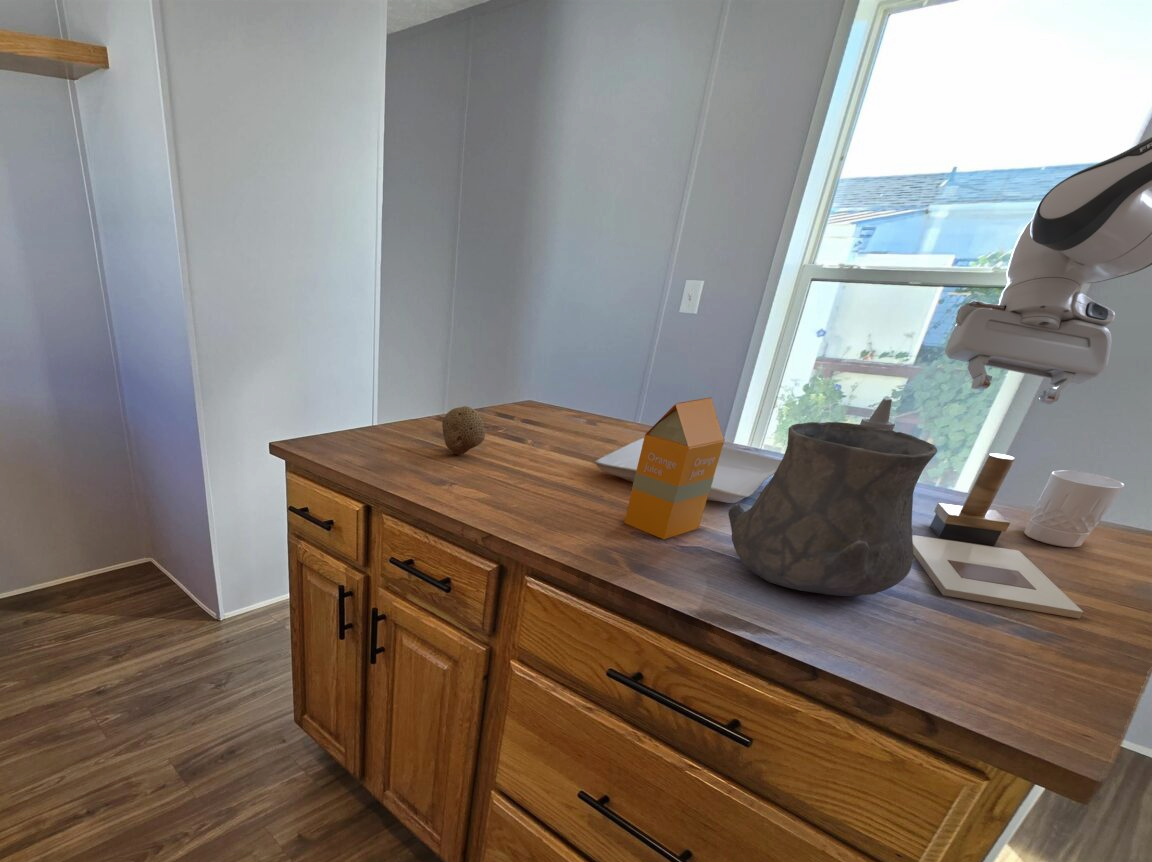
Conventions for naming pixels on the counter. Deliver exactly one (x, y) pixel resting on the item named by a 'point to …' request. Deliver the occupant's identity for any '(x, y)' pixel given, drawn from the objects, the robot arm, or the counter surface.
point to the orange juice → (676, 470)
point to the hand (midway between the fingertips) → (1013, 395)
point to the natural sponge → (463, 429)
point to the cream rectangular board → (990, 576)
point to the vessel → (835, 511)
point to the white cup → (1071, 507)
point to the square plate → (731, 478)
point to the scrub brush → (976, 507)
